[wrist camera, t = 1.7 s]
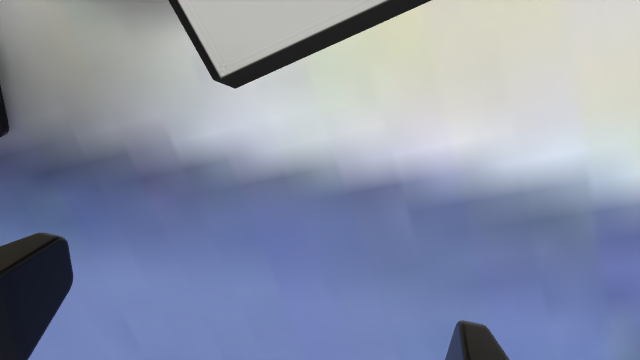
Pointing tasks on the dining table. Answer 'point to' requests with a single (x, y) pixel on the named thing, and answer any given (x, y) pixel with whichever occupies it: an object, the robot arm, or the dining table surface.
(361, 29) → the puzzle cube
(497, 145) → the dining table surface
